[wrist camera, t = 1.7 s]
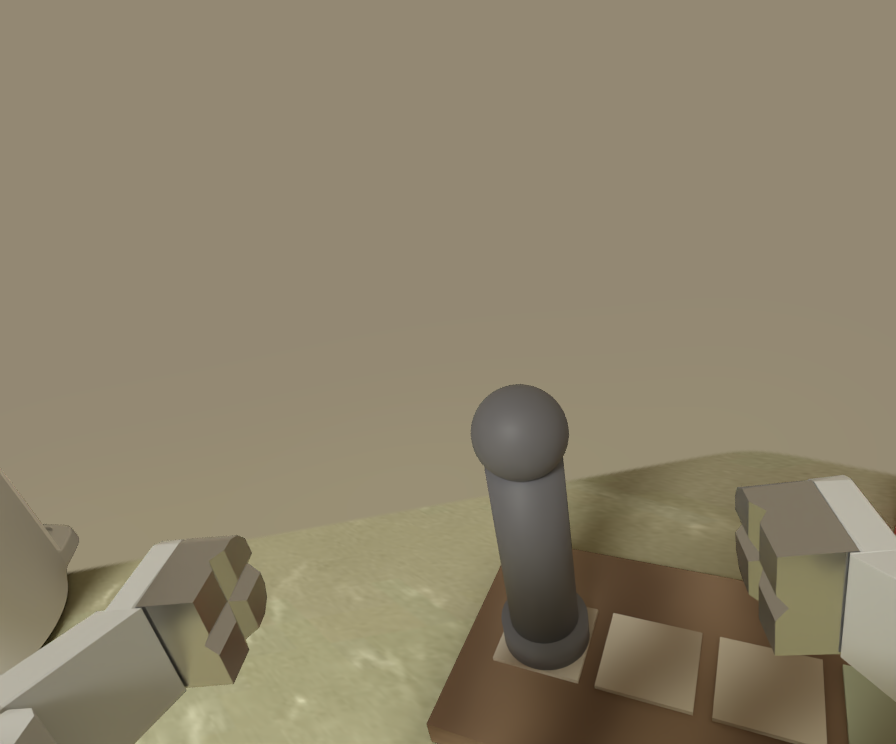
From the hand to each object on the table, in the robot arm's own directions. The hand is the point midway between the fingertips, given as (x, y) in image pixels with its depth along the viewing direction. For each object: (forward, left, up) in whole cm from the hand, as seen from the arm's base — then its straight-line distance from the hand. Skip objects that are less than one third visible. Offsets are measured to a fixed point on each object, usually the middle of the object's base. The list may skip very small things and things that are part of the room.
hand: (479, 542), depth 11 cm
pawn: (-4, +11, -17) cm, 21 cm away
